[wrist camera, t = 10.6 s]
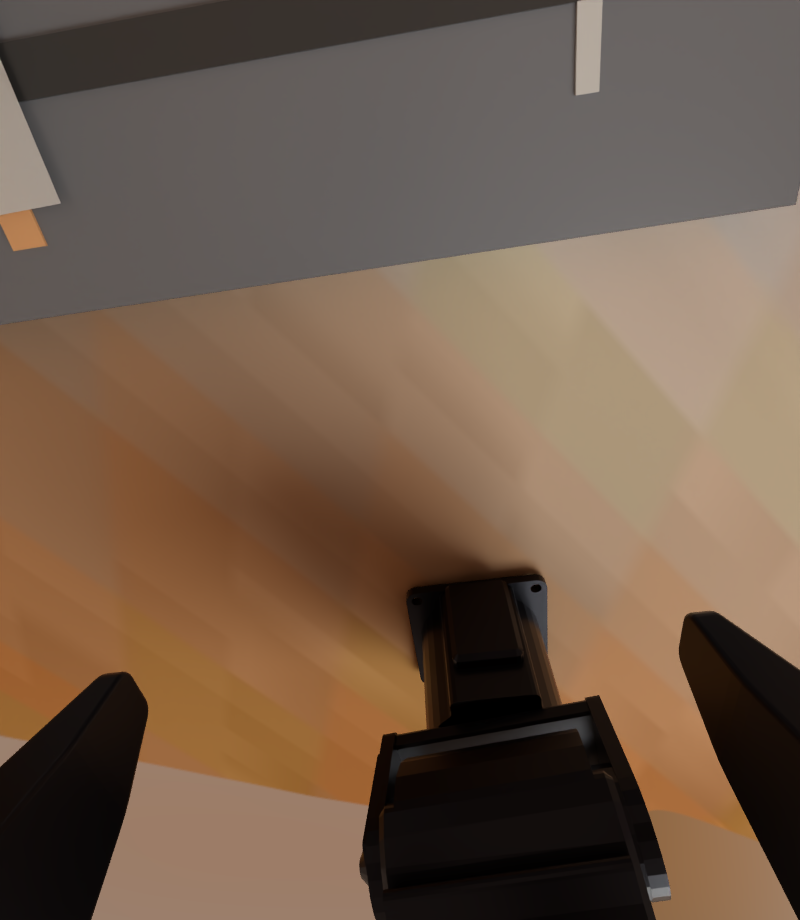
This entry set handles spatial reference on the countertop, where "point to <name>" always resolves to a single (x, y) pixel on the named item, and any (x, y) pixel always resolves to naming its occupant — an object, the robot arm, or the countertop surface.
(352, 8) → the fader console
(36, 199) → the fader tab
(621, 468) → the countertop surface
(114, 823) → the robot arm
